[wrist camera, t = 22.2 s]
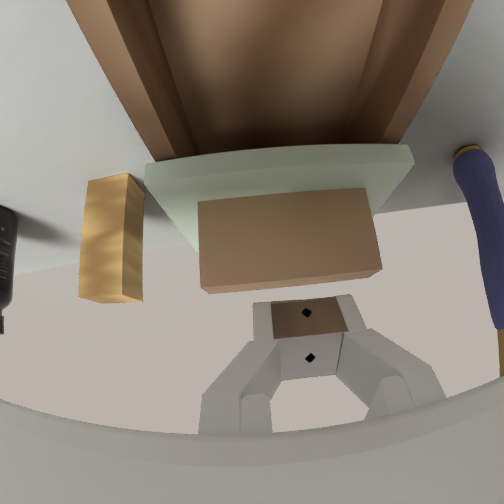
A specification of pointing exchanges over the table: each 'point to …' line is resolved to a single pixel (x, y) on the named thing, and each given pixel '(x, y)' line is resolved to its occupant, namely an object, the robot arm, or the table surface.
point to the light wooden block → (112, 241)
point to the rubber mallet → (486, 227)
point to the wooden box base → (269, 68)
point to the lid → (280, 211)
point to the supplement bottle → (7, 258)
